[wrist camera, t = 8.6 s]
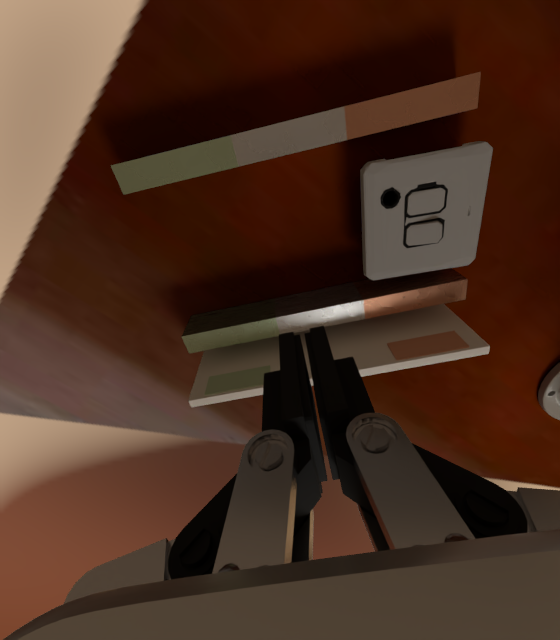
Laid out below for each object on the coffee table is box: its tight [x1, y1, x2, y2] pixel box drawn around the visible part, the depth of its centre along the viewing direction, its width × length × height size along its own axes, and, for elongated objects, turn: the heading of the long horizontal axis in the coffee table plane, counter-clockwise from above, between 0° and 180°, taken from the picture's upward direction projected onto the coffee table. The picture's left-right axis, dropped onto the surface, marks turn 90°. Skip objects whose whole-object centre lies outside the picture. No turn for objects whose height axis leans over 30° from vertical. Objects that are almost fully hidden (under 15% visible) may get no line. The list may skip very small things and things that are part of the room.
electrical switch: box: [360, 141, 493, 281], centre depth 25 cm, size 9×5×9 cm
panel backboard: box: [188, 304, 490, 407], centre depth 29 cm, size 26×1×8 cm, turn 102°
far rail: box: [182, 268, 468, 353], centre depth 29 cm, size 26×2×4 cm, turn 102°
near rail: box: [111, 72, 481, 194], centre depth 23 cm, size 26×2×3 cm, turn 102°
